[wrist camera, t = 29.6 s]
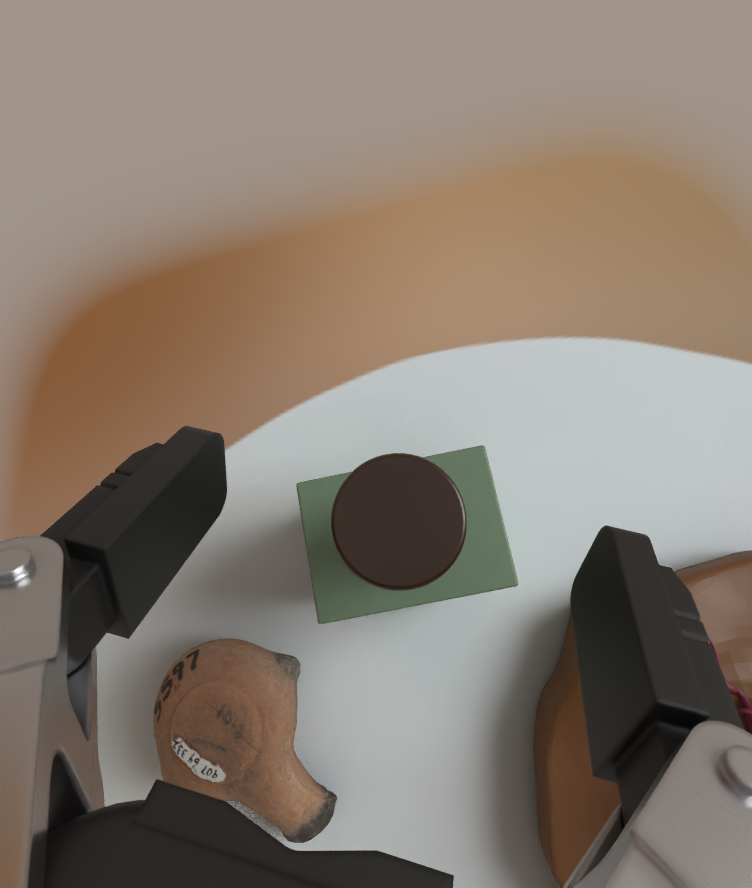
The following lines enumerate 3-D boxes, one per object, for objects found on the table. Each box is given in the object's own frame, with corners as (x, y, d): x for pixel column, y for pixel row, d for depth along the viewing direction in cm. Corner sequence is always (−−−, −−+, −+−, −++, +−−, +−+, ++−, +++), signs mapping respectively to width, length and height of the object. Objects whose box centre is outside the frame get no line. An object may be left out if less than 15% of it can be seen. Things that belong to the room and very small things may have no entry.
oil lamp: (180, 822, 24) (344, 813, 24) (137, 889, 20) (332, 880, 20) (171, 633, 25) (330, 622, 24) (126, 663, 21) (315, 649, 20)
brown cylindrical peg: (371, 585, 17) (328, 625, 8) (355, 500, 18) (300, 453, 9) (456, 568, 17) (504, 591, 8) (438, 483, 18) (463, 420, 9)
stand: (347, 600, 25) (318, 624, 17) (330, 502, 26) (295, 483, 18) (485, 573, 25) (519, 585, 17) (462, 475, 26) (484, 444, 18)
